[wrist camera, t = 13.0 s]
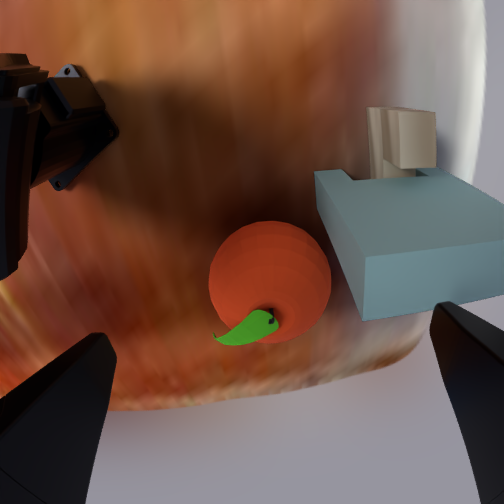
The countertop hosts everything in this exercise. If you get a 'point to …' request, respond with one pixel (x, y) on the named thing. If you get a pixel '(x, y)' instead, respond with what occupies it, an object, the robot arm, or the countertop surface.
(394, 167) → the birch slotted plate
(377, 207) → the teal slotted plate
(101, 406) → the robot arm
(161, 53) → the countertop surface
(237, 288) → the clementine
